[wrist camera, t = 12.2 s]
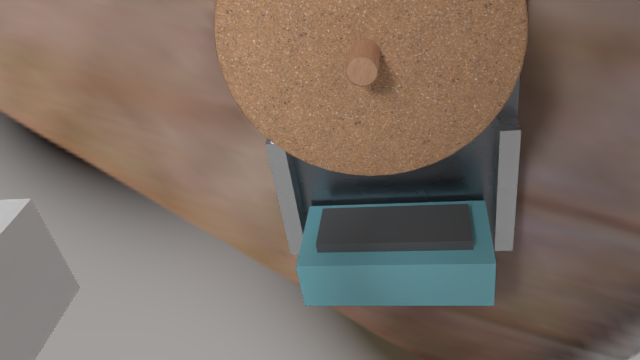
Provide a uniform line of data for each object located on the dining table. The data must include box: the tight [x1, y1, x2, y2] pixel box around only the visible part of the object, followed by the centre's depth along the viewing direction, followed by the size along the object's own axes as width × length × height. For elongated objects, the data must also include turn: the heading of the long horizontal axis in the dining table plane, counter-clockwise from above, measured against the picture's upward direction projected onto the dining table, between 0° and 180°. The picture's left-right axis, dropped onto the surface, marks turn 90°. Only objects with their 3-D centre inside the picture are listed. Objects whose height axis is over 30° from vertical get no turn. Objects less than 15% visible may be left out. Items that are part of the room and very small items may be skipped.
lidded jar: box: [214, 0, 529, 176], centre depth 22 cm, size 11×11×9 cm
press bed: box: [265, 72, 521, 255], centre depth 26 cm, size 24×13×5 cm, turn 8°
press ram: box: [296, 200, 496, 306], centre depth 31 cm, size 4×10×5 cm, turn 98°
